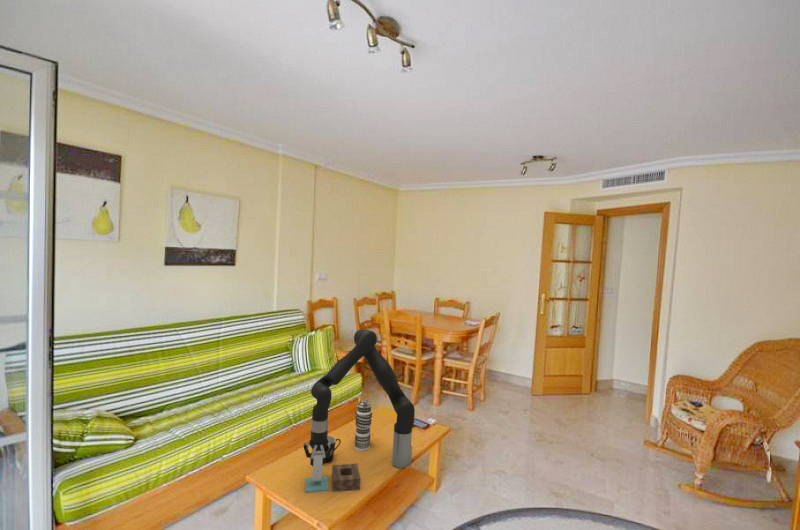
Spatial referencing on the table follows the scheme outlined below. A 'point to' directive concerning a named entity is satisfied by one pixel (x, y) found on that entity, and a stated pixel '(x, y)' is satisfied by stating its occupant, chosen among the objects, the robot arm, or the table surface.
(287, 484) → the table surface
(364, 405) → the decorative candle
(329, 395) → the robot arm
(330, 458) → the coffee mug
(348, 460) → the table surface
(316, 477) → the steel peg
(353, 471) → the socket block
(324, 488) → the pad
